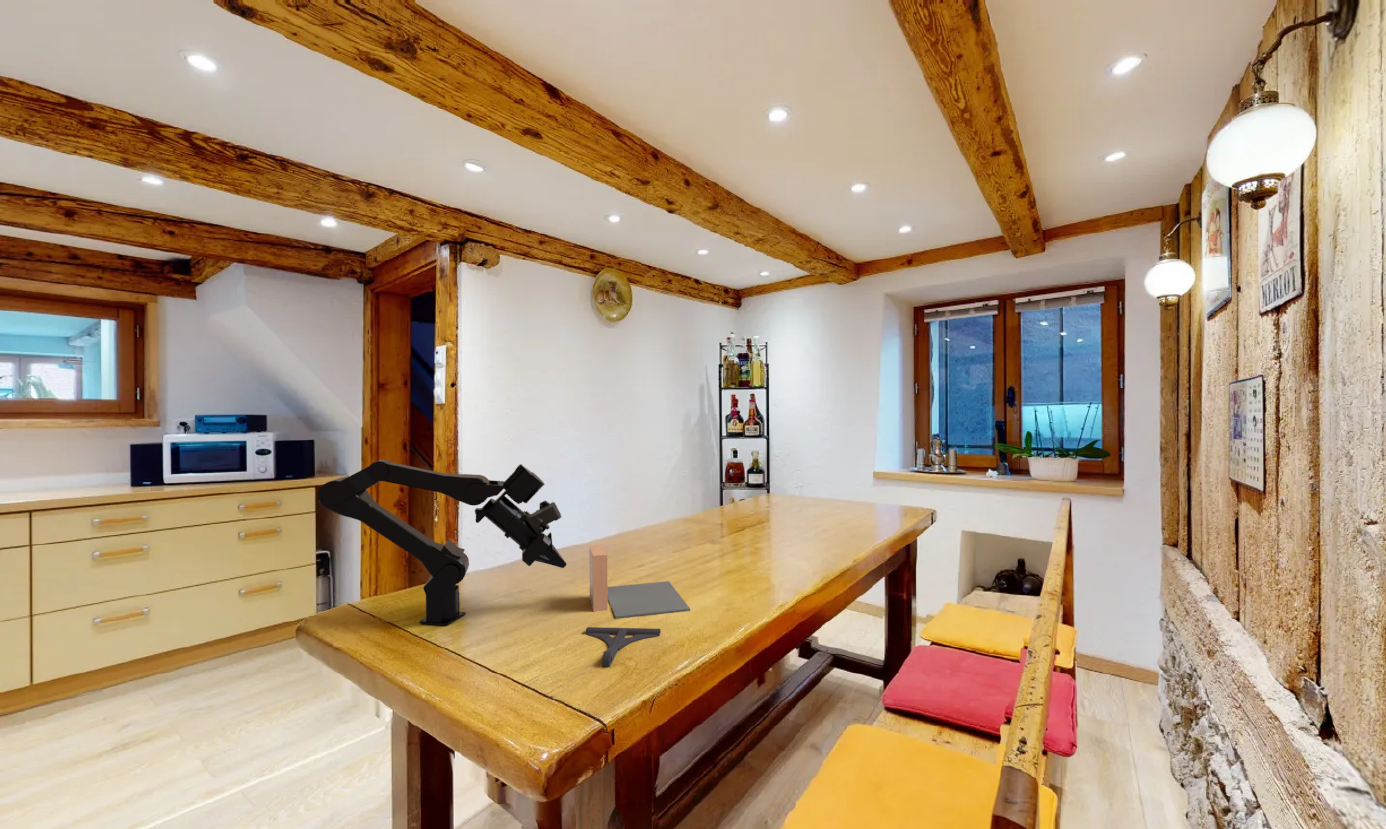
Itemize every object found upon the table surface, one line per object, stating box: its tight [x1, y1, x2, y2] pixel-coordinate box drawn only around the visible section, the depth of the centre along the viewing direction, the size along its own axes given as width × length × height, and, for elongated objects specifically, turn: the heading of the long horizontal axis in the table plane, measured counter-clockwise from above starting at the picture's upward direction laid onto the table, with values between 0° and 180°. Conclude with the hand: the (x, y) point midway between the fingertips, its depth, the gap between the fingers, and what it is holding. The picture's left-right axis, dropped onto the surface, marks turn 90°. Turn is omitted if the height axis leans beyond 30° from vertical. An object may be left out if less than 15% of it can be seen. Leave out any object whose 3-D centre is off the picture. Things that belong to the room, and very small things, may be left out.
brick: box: [588, 544, 609, 613], centre depth 124 cm, size 3×9×12 cm, turn 16°
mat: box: [607, 580, 691, 619], centre depth 127 cm, size 16×20×1 cm
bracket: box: [585, 626, 662, 668], centre depth 101 cm, size 14×15×3 cm
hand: (565, 566), depth 122 cm, fingers closed
